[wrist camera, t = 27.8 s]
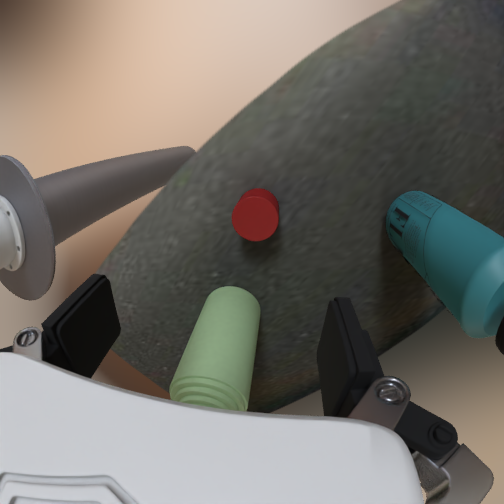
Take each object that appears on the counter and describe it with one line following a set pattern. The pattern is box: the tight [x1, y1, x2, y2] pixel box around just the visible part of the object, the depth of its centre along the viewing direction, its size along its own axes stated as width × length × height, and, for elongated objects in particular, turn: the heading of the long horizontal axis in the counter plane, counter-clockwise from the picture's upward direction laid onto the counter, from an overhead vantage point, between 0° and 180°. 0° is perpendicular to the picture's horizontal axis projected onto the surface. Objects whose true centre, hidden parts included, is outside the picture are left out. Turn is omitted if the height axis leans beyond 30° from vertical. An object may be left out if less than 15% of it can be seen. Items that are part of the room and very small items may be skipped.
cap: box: [232, 188, 279, 241], centre depth 25 cm, size 4×4×4 cm
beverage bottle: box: [386, 190, 504, 354], centre depth 16 cm, size 6×7×20 cm
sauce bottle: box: [169, 286, 261, 412], centre depth 23 cm, size 6×6×18 cm
